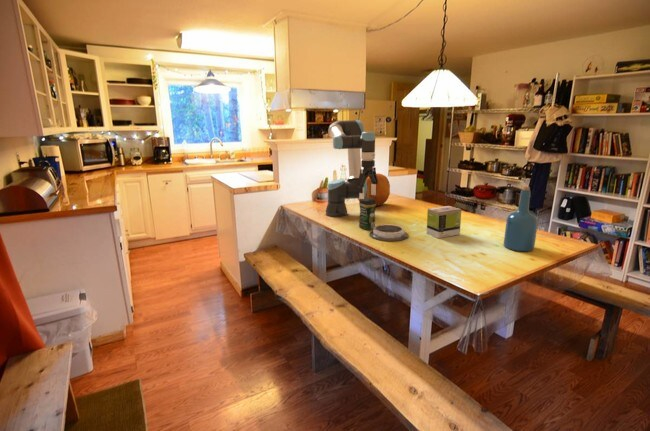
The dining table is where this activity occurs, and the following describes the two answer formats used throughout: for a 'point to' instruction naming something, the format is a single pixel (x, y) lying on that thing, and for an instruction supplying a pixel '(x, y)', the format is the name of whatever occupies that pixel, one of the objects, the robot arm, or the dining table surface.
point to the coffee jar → (367, 213)
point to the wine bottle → (521, 225)
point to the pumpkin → (379, 189)
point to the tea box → (443, 221)
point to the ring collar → (388, 233)
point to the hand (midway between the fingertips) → (367, 196)
